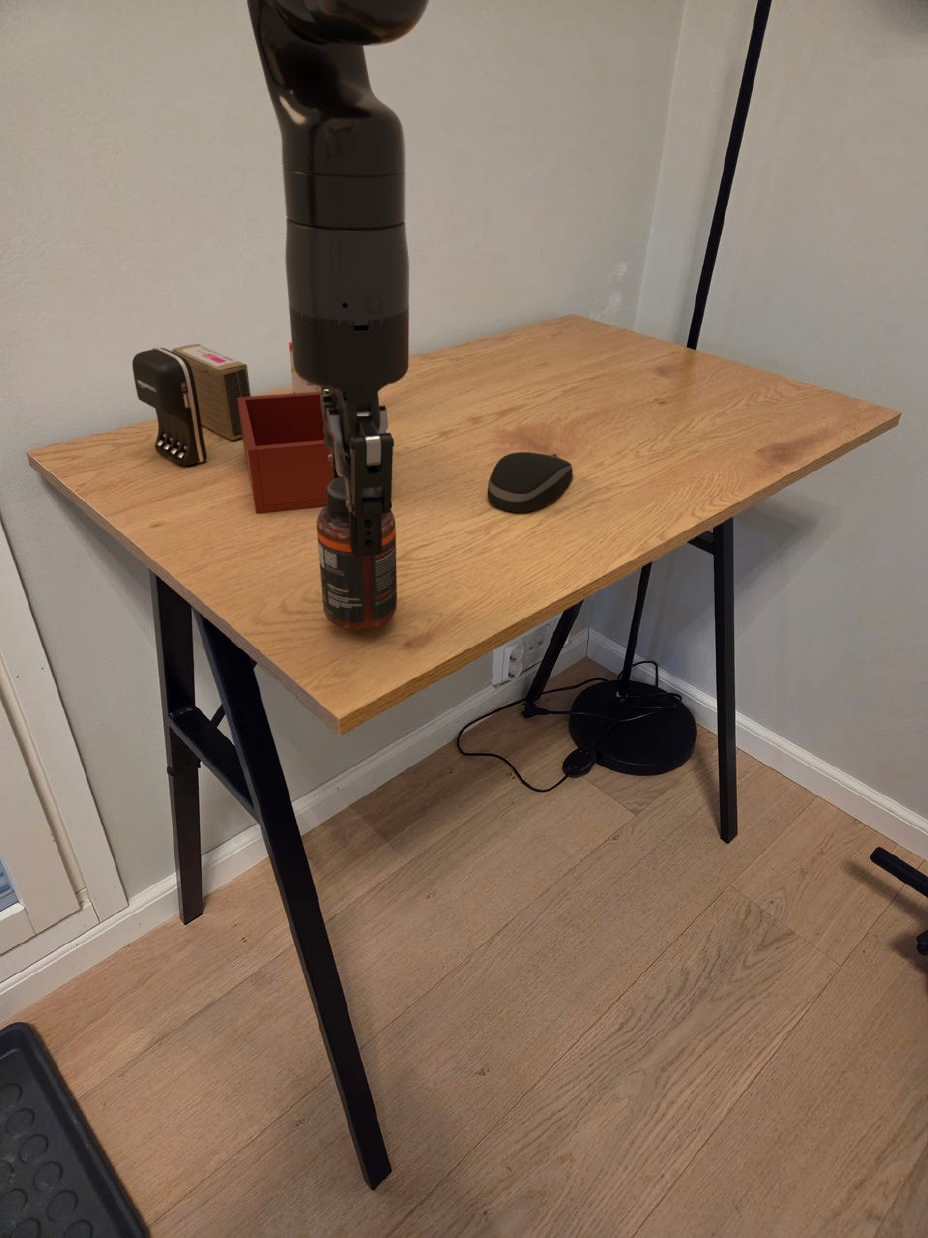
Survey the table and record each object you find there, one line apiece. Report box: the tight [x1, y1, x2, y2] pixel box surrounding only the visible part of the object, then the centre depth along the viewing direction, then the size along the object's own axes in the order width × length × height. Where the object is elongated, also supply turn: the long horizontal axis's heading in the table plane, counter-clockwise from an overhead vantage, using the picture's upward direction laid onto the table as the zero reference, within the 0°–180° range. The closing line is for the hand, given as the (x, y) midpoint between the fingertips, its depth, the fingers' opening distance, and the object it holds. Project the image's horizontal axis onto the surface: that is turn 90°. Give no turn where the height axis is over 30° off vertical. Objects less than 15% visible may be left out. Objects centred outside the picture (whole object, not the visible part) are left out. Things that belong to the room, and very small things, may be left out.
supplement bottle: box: [316, 477, 398, 631], centre depth 61 cm, size 6×6×11 cm
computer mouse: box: [487, 451, 574, 513], centre depth 84 cm, size 7×12×4 cm, turn 146°
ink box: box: [171, 343, 252, 441], centre depth 92 cm, size 10×4×8 cm, turn 46°
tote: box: [237, 392, 387, 514], centre depth 83 cm, size 14×14×7 cm
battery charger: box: [131, 347, 208, 467], centre depth 84 cm, size 7×4×11 cm, turn 47°
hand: (357, 530), depth 59 cm, fingers closed on supplement bottle, 6 cm apart
